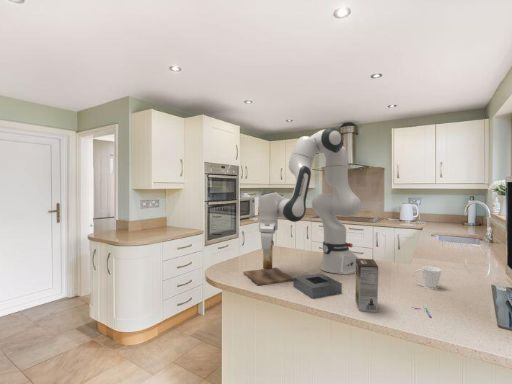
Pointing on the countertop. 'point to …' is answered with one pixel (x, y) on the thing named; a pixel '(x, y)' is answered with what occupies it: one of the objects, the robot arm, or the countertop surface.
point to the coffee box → (366, 285)
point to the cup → (430, 276)
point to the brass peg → (268, 259)
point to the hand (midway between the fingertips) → (267, 255)
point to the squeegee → (427, 312)
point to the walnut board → (268, 276)
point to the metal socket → (317, 285)
